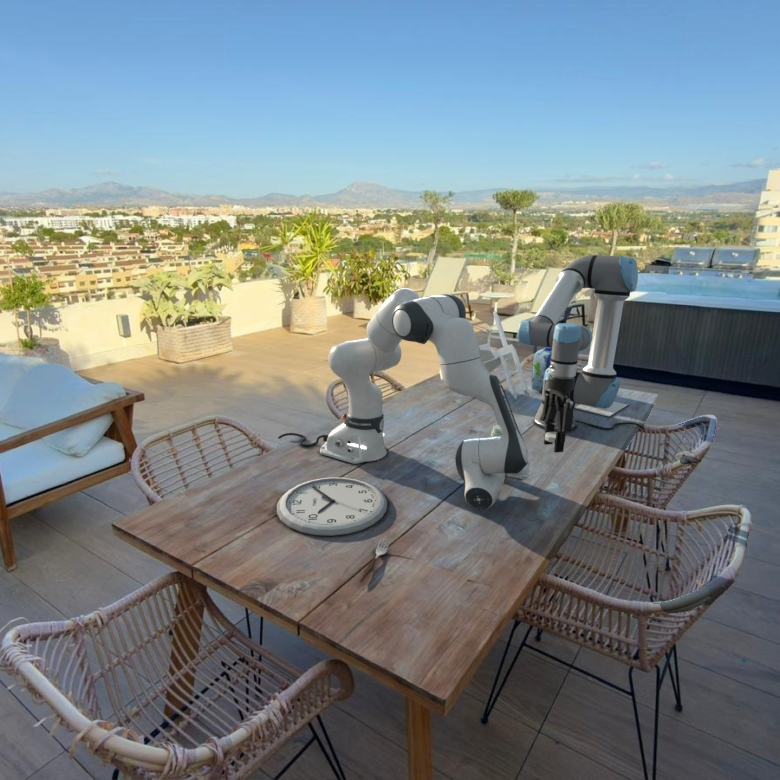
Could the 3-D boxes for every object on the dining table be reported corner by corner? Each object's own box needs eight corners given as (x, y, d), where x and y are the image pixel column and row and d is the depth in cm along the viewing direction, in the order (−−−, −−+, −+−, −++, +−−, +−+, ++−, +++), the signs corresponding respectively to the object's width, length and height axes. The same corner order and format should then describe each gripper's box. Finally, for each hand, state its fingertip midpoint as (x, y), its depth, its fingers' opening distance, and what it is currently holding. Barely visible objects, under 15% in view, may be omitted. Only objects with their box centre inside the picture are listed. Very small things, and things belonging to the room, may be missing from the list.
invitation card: (608, 416, 214) (573, 407, 224) (608, 416, 214) (573, 408, 224) (628, 404, 229) (594, 396, 238) (628, 405, 229) (594, 397, 238)
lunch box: (547, 397, 237) (552, 352, 231) (526, 391, 245) (531, 348, 238) (574, 386, 255) (580, 344, 249) (554, 381, 262) (559, 340, 256)
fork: (354, 582, 112) (354, 574, 111) (381, 542, 126) (381, 535, 125) (365, 585, 111) (365, 577, 110) (391, 545, 125) (391, 537, 125)
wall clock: (392, 527, 129) (268, 531, 127) (391, 533, 130) (269, 537, 127) (383, 473, 158) (282, 475, 155) (383, 478, 158) (282, 480, 156)
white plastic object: (461, 429, 252) (437, 405, 227) (444, 352, 274) (420, 323, 250) (535, 404, 240) (518, 377, 215) (510, 326, 262) (492, 293, 237)
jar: (505, 473, 163) (509, 425, 158) (502, 480, 158) (507, 431, 154) (489, 471, 164) (493, 423, 160) (486, 478, 160) (490, 428, 155)
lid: (540, 437, 164) (541, 432, 163) (555, 435, 166) (556, 430, 165) (552, 444, 159) (553, 439, 158) (567, 442, 161) (568, 437, 160)
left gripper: (528, 469, 143) (533, 450, 156) (455, 457, 150) (466, 440, 163) (526, 490, 145) (531, 470, 158) (454, 477, 152) (465, 458, 165)
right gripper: (535, 368, 164) (528, 437, 171) (567, 385, 147) (558, 460, 154) (556, 367, 166) (548, 436, 172) (591, 383, 149) (580, 458, 155)
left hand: (497, 454), depth 160 cm, fingers closed on jar, 5 cm apart
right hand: (553, 447), depth 163 cm, fingers closed on lid, 5 cm apart
